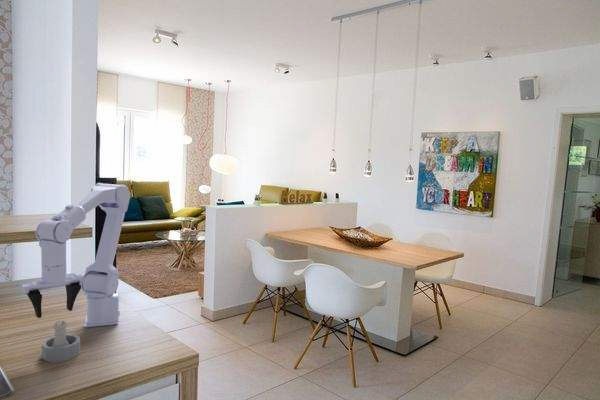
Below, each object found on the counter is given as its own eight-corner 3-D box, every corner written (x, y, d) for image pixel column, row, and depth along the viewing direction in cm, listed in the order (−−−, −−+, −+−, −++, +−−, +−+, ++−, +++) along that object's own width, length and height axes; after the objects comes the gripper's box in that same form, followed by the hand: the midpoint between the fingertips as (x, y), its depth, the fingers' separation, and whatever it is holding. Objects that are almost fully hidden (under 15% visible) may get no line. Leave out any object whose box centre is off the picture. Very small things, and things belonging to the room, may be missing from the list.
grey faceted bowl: (81, 344, 117) (81, 332, 116) (78, 359, 109) (78, 346, 108) (45, 348, 113) (45, 336, 113) (39, 363, 105) (39, 350, 105)
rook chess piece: (60, 346, 114) (60, 318, 113) (73, 349, 113) (73, 321, 112) (46, 353, 110) (46, 324, 109) (59, 356, 108) (59, 327, 107)
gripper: (76, 257, 120) (76, 302, 122) (17, 265, 109) (18, 315, 111) (86, 262, 115) (86, 309, 117) (26, 271, 105) (27, 323, 106)
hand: (54, 313), depth 113 cm, fingers open, 7 cm apart
